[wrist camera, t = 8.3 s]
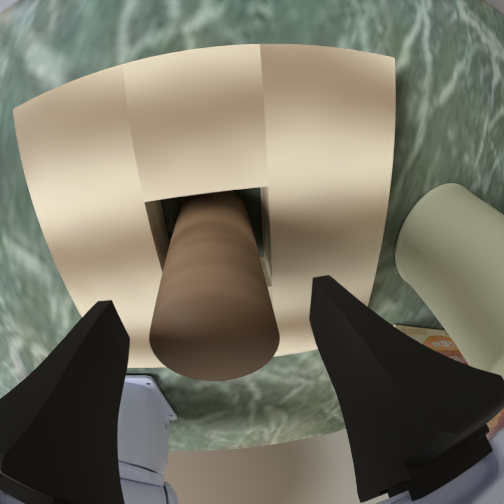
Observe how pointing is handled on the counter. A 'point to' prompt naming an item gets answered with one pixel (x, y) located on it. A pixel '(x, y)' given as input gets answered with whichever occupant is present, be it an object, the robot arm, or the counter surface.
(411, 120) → the counter surface
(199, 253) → the peg
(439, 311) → the can
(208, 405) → the counter surface
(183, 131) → the socket block
